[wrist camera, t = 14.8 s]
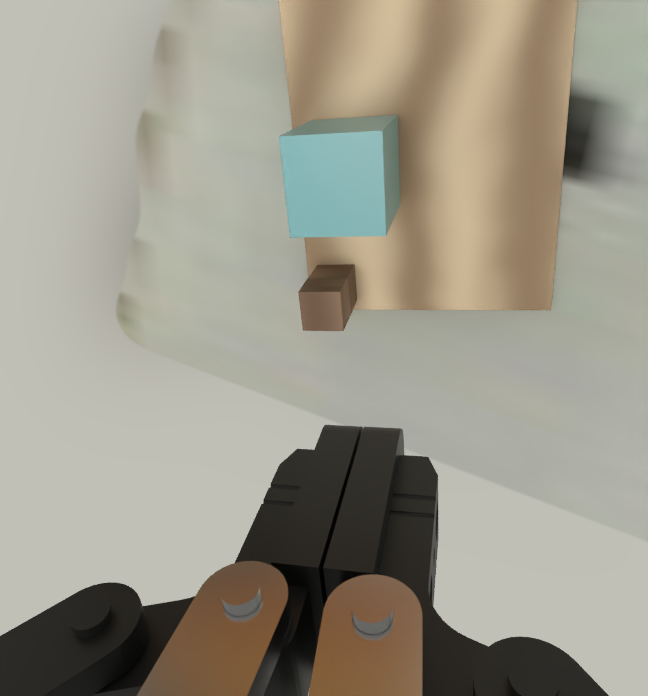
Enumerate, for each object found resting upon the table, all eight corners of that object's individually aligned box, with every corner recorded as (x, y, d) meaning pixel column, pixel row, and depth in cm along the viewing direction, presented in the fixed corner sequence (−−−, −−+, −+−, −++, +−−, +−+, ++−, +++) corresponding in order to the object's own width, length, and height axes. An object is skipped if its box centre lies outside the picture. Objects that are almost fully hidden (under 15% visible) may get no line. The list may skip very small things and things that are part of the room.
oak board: (591, -185, 28) (593, -189, 27) (549, 306, 39) (550, 310, 39) (268, -127, 32) (264, -130, 31) (314, 305, 43) (312, 309, 42)
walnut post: (354, 264, 40) (339, 291, 36) (357, 300, 41) (343, 331, 37) (317, 264, 41) (298, 291, 36) (320, 300, 42) (302, 330, 38)
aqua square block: (397, 114, 34) (382, 130, 29) (400, 204, 37) (385, 236, 31) (310, 120, 36) (279, 136, 30) (318, 207, 38) (290, 237, 32)
